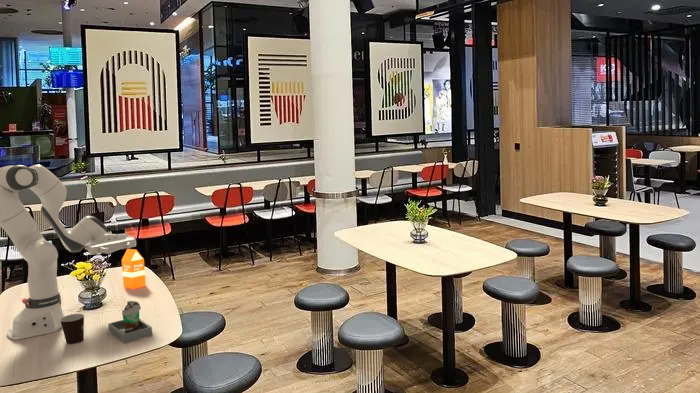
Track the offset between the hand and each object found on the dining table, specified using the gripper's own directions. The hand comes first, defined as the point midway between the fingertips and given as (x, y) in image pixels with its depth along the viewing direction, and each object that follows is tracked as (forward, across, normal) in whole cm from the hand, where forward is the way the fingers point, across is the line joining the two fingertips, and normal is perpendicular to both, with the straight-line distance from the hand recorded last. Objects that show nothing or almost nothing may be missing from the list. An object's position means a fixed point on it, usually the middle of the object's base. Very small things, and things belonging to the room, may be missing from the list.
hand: (118, 248), depth 244 cm
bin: (+20, -5, +32) cm, 38 cm away
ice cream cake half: (+18, -2, +31) cm, 36 cm away
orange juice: (-43, +20, +32) cm, 57 cm away
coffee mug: (+10, -23, +32) cm, 41 cm away
